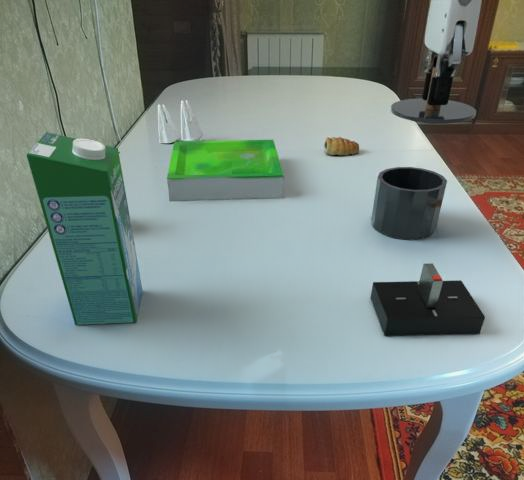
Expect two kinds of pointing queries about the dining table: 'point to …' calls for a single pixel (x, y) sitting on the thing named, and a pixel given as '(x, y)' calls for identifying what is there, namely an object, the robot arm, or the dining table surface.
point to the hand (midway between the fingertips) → (434, 101)
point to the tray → (224, 170)
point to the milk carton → (88, 227)
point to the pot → (408, 202)
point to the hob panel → (425, 310)
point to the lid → (433, 110)
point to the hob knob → (430, 285)
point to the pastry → (340, 146)
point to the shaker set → (188, 125)
